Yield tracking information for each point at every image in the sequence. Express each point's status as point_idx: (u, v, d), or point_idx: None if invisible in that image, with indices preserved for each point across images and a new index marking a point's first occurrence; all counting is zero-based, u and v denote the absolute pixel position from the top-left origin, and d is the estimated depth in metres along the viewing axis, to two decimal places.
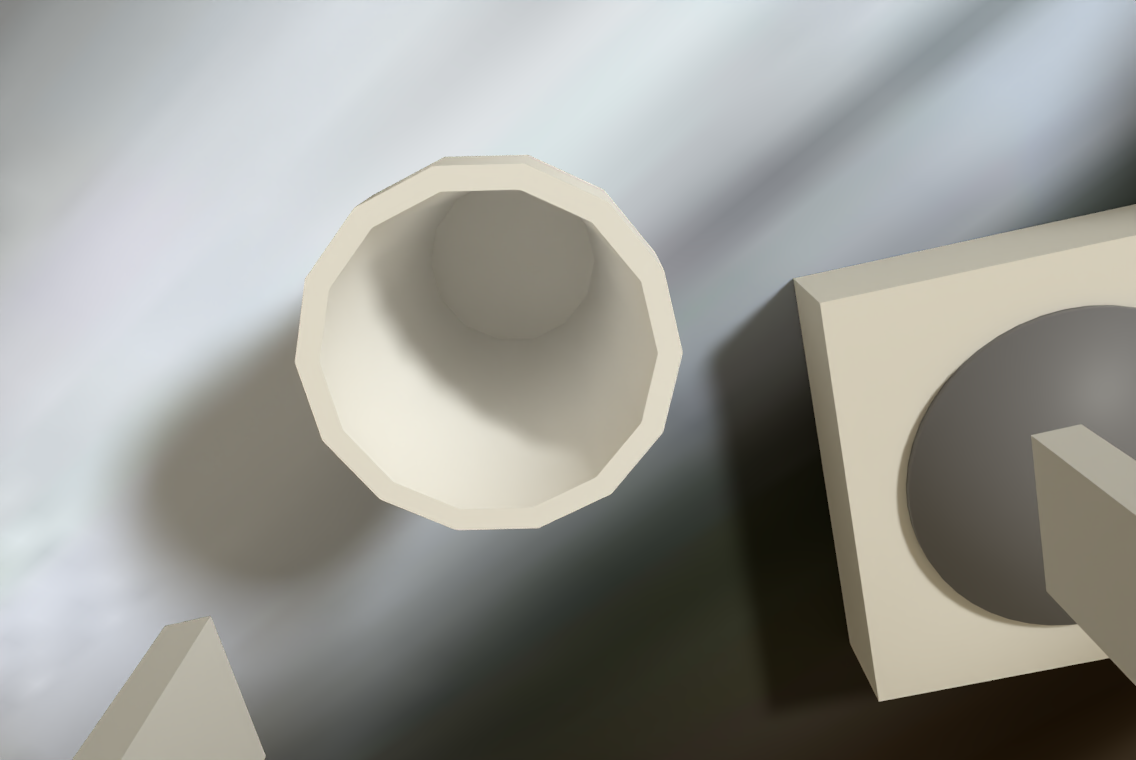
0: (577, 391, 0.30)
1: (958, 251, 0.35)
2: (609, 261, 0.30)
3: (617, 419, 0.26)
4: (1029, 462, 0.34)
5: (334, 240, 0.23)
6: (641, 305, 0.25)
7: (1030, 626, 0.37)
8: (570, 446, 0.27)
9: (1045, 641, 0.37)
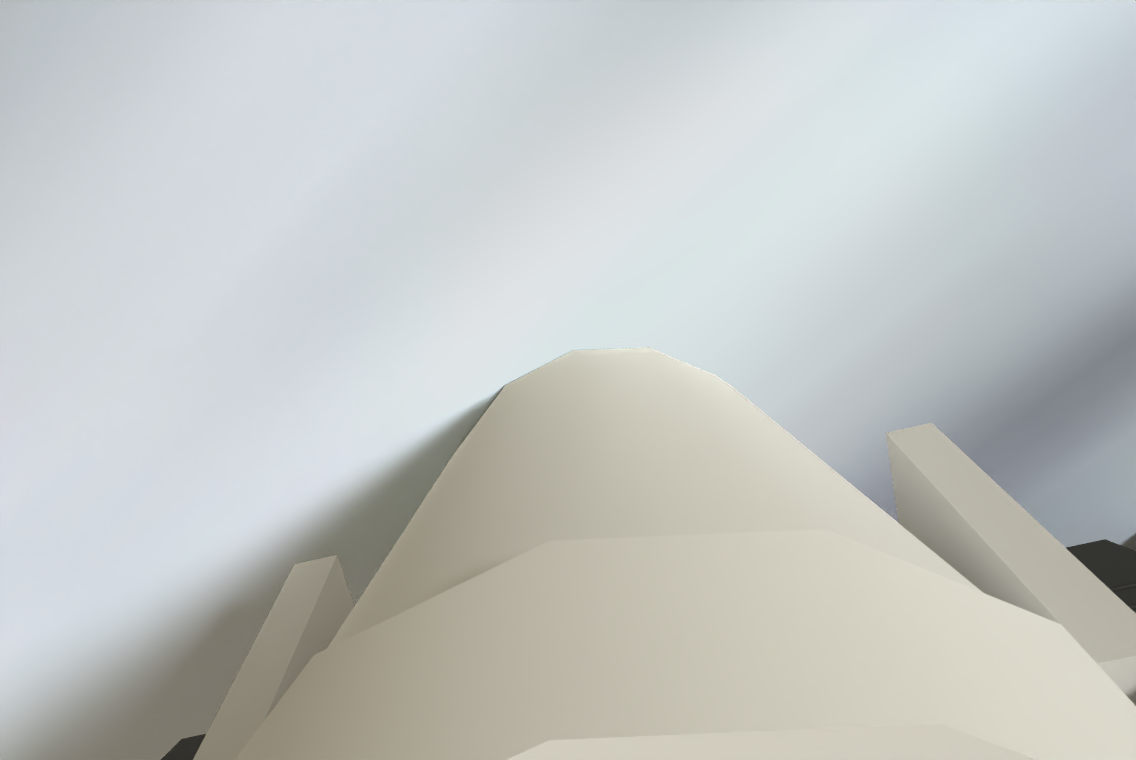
0: None
1: None
2: None
3: None
4: None
5: None
6: None
7: None
8: None
9: None
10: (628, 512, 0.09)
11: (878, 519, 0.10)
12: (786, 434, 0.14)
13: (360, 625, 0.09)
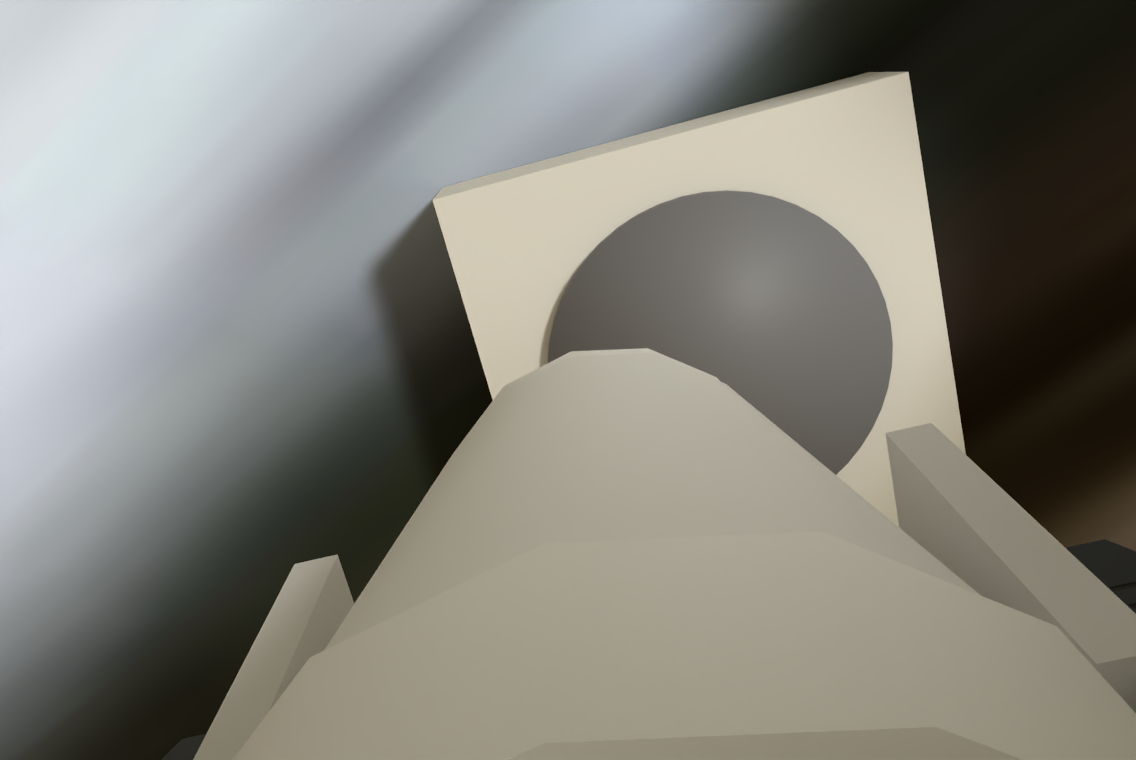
0: None
1: (594, 149, 0.35)
2: None
3: None
4: None
5: None
6: None
7: None
8: None
9: None
10: (624, 514, 0.09)
11: (875, 521, 0.10)
12: (784, 435, 0.14)
13: (356, 627, 0.09)
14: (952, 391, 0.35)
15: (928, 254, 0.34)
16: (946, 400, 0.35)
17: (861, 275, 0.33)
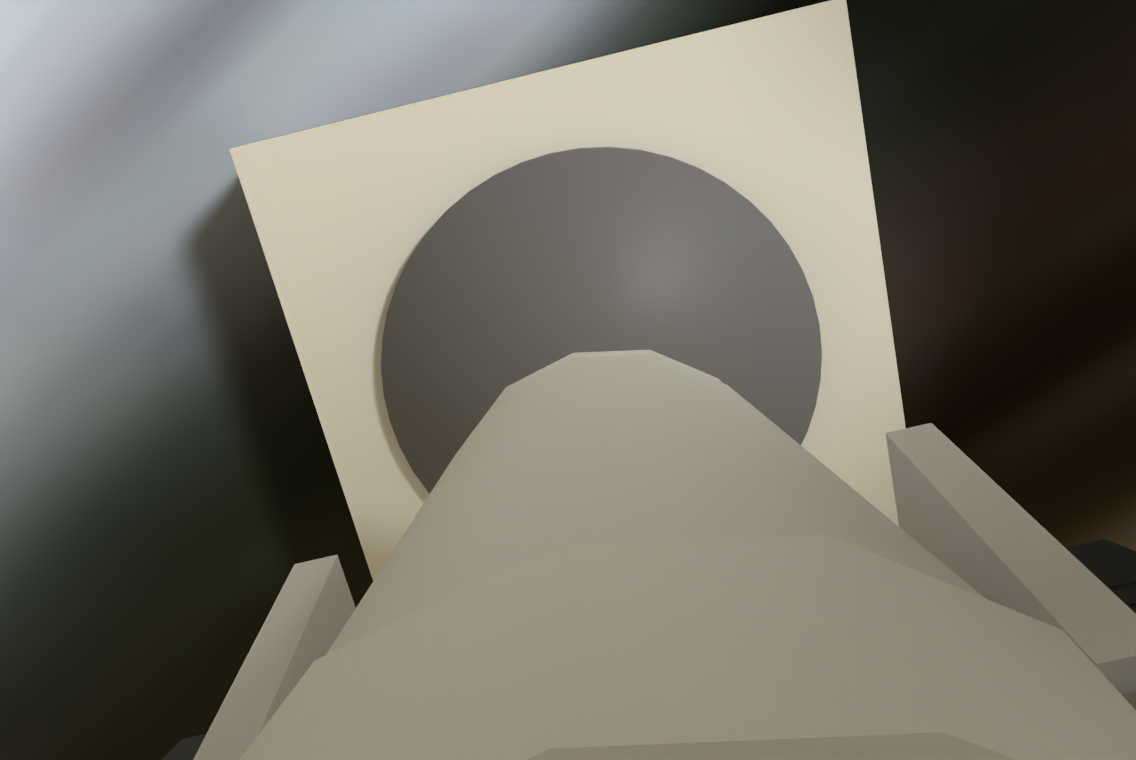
0: None
1: None
2: None
3: None
4: (531, 357, 0.27)
5: None
6: None
7: None
8: None
9: None
10: (629, 517, 0.09)
11: (879, 523, 0.10)
12: (787, 437, 0.14)
13: (360, 630, 0.09)
14: (898, 412, 0.28)
15: (869, 237, 0.26)
16: (890, 423, 0.28)
17: (781, 261, 0.26)
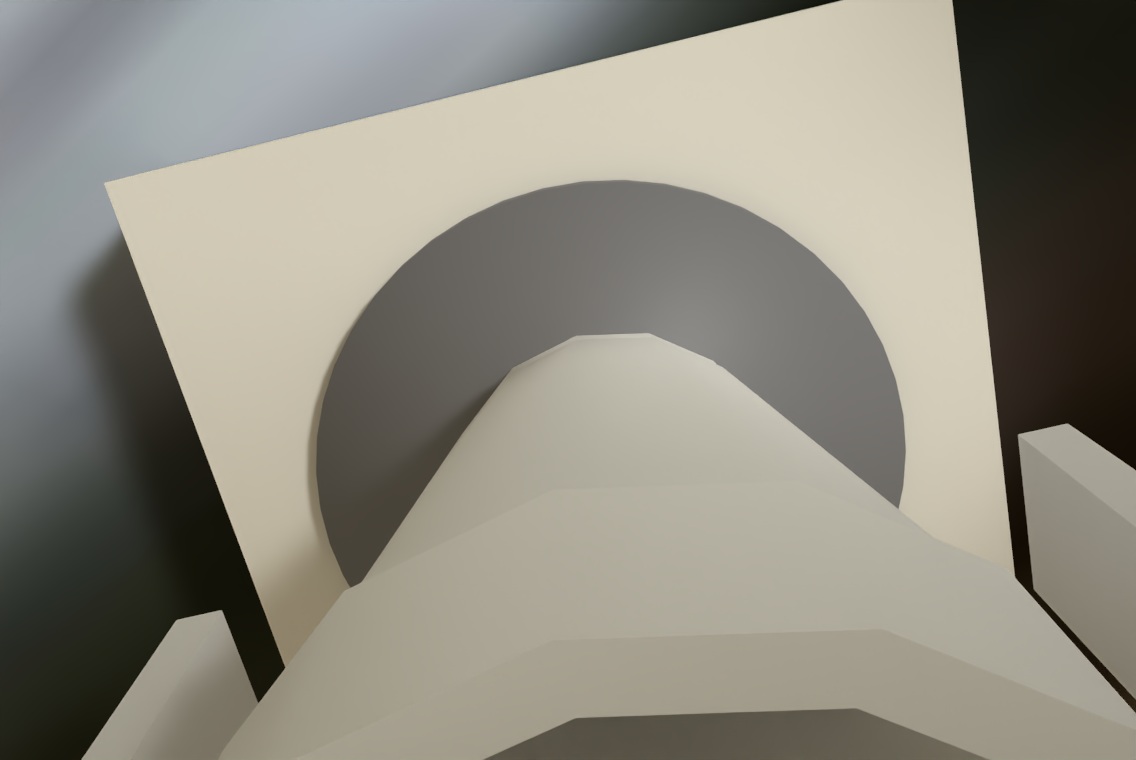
0: None
1: None
2: None
3: None
4: None
5: None
6: None
7: None
8: None
9: None
10: (623, 470, 0.10)
11: (852, 483, 0.11)
12: (774, 412, 0.15)
13: (383, 569, 0.10)
14: (1003, 527, 0.21)
15: (972, 299, 0.20)
16: (992, 541, 0.21)
17: (855, 333, 0.19)
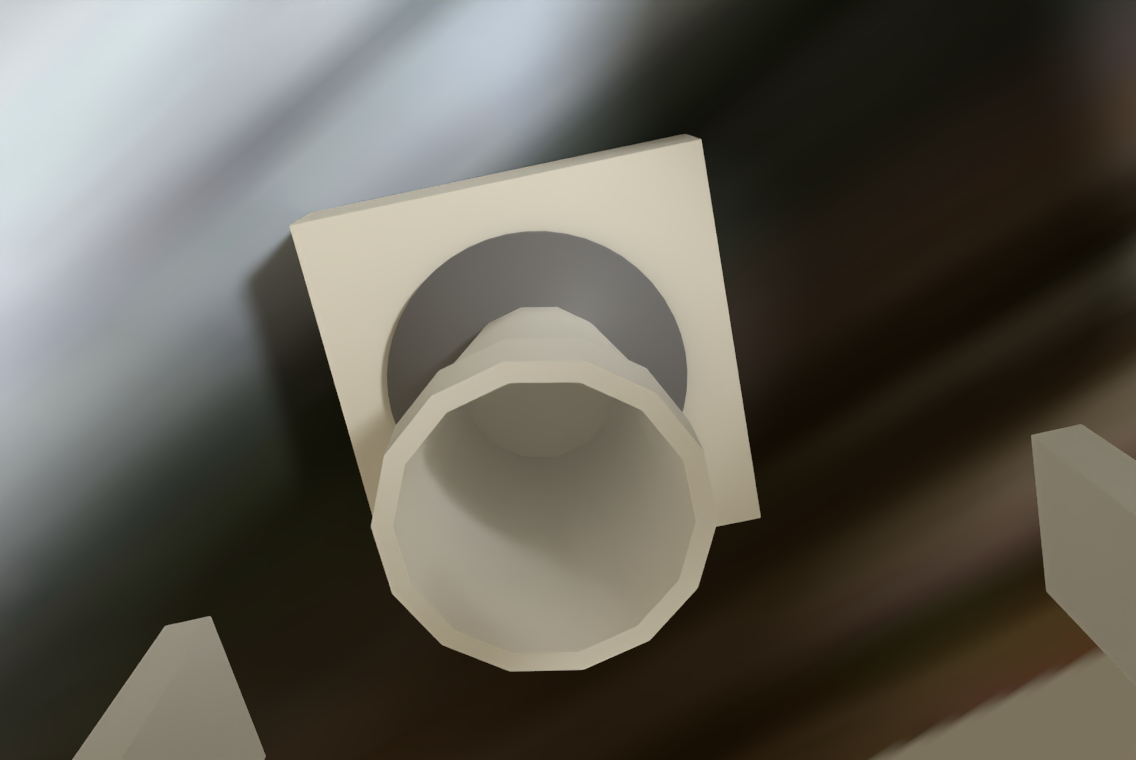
0: (607, 525, 0.33)
1: (440, 187, 0.40)
2: None
3: (653, 568, 0.29)
4: None
5: (412, 423, 0.26)
6: (679, 474, 0.28)
7: None
8: (608, 588, 0.30)
9: None
10: None
11: (616, 353, 0.31)
12: (604, 337, 0.34)
13: None
14: (741, 414, 0.41)
15: (719, 295, 0.39)
16: (736, 421, 0.41)
17: (660, 310, 0.39)
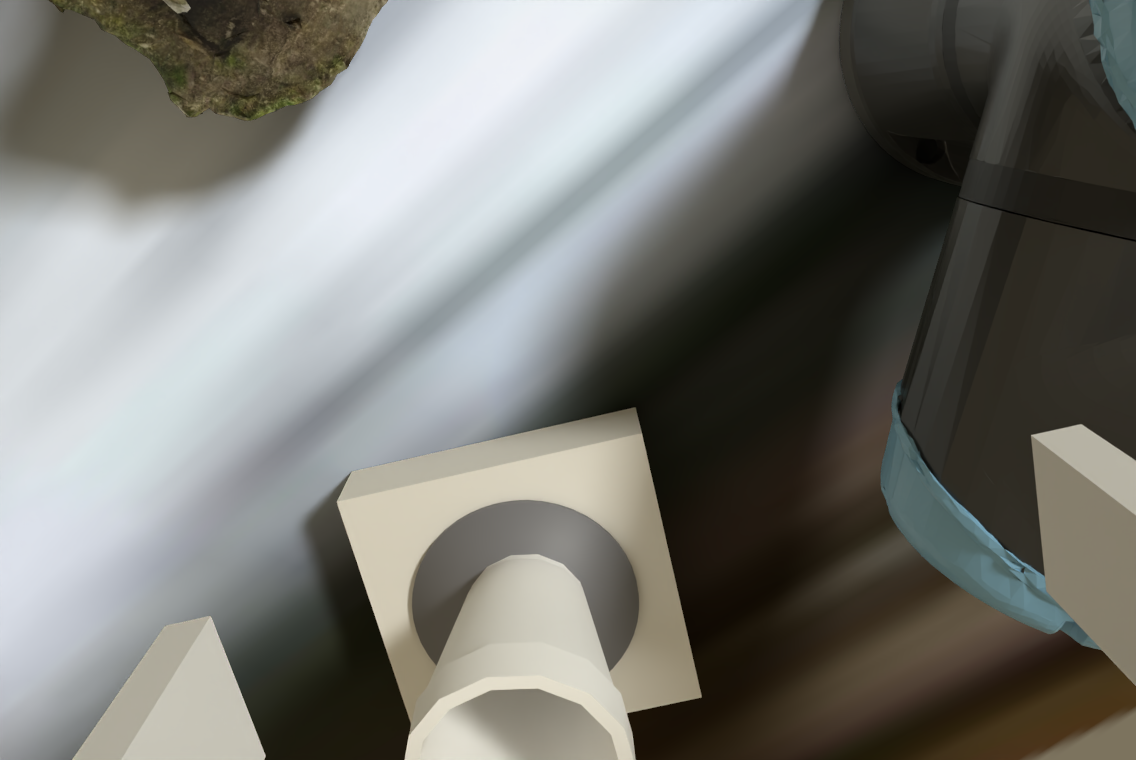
0: (572, 740, 0.46)
1: (449, 457, 0.53)
2: None
3: None
4: None
5: (426, 715, 0.39)
6: None
7: None
8: None
9: None
10: (508, 635, 0.42)
11: (571, 632, 0.43)
12: (569, 598, 0.47)
13: (452, 658, 0.42)
14: (682, 623, 0.53)
15: (661, 540, 0.51)
16: (678, 629, 0.53)
17: (615, 554, 0.51)
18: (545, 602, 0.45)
